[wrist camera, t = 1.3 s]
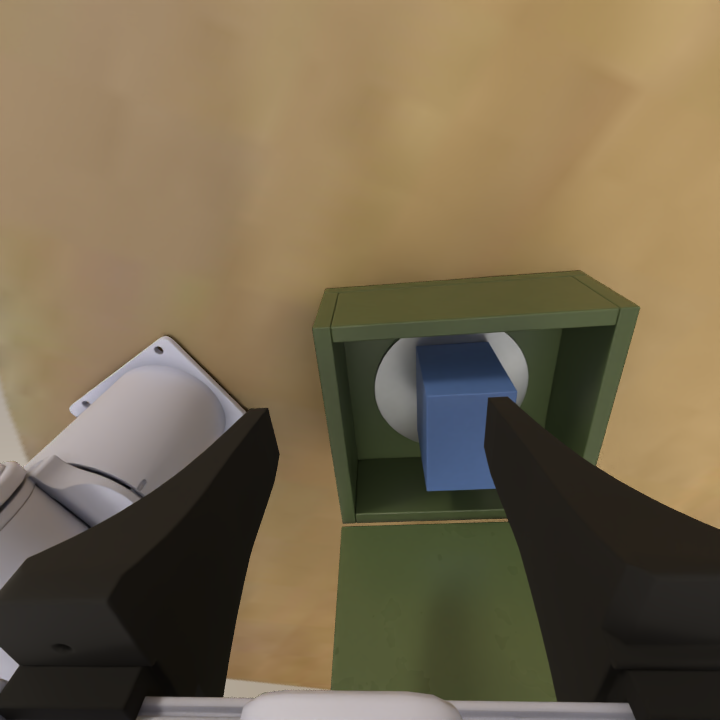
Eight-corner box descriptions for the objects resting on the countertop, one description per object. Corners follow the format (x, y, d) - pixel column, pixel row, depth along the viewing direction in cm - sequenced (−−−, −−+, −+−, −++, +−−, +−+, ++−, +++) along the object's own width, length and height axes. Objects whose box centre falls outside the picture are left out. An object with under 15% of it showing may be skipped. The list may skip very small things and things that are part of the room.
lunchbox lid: (312, 950, 11) (315, 949, 12) (819, 972, 10) (807, 971, 11) (341, 526, 22) (342, 532, 23) (586, 518, 21) (584, 525, 22)
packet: (415, 345, 22) (426, 396, 17) (488, 341, 21) (518, 391, 17) (417, 430, 25) (426, 491, 20) (481, 427, 24) (505, 489, 20)
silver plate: (422, 463, 26) (423, 466, 26) (344, 368, 23) (344, 370, 23) (551, 403, 24) (552, 406, 23) (484, 284, 20) (486, 286, 20)
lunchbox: (325, 288, 21) (311, 328, 17) (580, 270, 20) (641, 306, 16) (347, 460, 27) (342, 524, 23) (545, 451, 27) (582, 516, 22)
